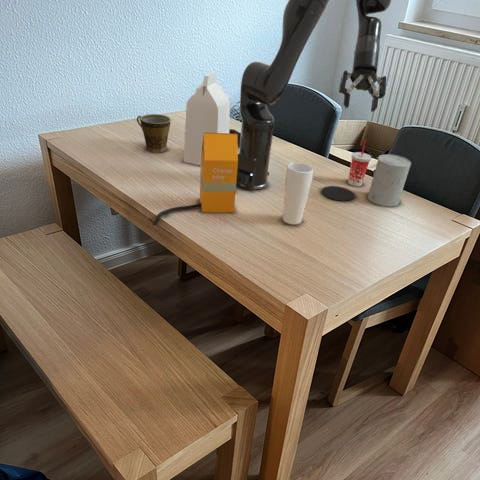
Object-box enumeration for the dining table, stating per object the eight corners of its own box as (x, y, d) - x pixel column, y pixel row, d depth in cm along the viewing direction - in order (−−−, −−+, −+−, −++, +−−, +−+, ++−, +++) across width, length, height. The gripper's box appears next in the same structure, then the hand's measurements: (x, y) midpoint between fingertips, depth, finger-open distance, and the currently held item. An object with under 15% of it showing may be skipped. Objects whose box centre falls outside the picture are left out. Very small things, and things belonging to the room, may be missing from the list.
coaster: (345, 204, 141) (345, 203, 141) (315, 193, 145) (316, 192, 145) (359, 194, 148) (359, 193, 147) (331, 184, 152) (331, 183, 152)
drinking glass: (306, 218, 132) (316, 165, 122) (300, 229, 127) (310, 174, 117) (283, 213, 133) (291, 160, 124) (276, 223, 128) (284, 169, 119)
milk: (216, 168, 154) (221, 81, 137) (183, 161, 156) (184, 74, 140) (228, 157, 163) (234, 73, 146) (197, 150, 165) (200, 67, 149)
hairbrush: (233, 122, 183) (272, 141, 167) (233, 132, 185) (271, 151, 169) (215, 125, 179) (252, 143, 163) (215, 135, 182) (252, 154, 165)
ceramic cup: (176, 149, 164) (176, 119, 158) (157, 156, 157) (157, 125, 151) (148, 139, 169) (146, 110, 163) (128, 146, 162) (126, 116, 156)
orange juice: (233, 212, 131) (240, 139, 118) (201, 212, 129) (204, 137, 117) (229, 199, 137) (235, 128, 124) (199, 199, 135) (201, 127, 122)
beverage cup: (365, 187, 152) (377, 143, 143) (346, 186, 152) (357, 141, 143) (362, 180, 157) (373, 137, 148) (344, 178, 157) (354, 135, 148)
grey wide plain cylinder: (363, 192, 149) (374, 153, 142) (392, 193, 150) (404, 155, 143) (372, 205, 142) (384, 165, 134) (403, 207, 143) (416, 167, 135)
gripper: (347, 46, 144) (341, 101, 146) (393, 53, 146) (386, 108, 147) (340, 57, 152) (334, 110, 153) (383, 63, 153) (377, 115, 155)
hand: (359, 109), depth 150 cm, fingers open, 8 cm apart
